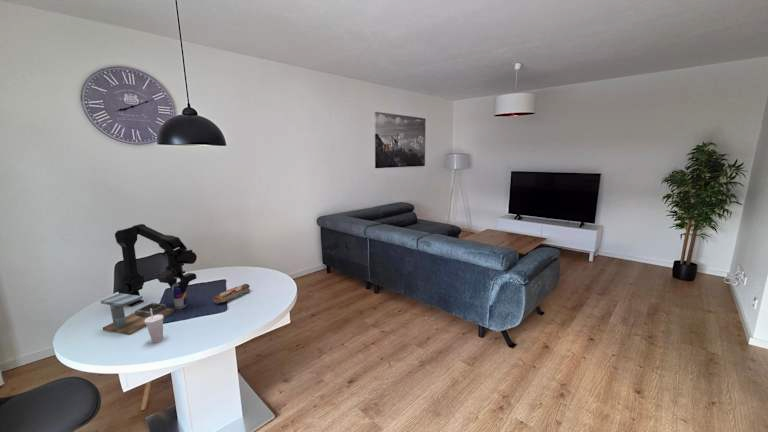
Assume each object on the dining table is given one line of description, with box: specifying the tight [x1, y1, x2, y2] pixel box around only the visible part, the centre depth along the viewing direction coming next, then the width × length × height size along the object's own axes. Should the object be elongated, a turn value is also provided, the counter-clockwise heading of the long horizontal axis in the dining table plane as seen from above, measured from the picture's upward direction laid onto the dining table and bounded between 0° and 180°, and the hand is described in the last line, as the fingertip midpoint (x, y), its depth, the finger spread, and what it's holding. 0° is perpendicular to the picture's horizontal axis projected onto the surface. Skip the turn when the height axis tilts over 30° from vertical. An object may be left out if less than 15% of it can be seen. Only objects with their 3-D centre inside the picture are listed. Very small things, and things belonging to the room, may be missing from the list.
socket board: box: [100, 293, 175, 336], centre depth 145 cm, size 16×21×14 cm
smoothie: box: [145, 308, 165, 343], centre depth 129 cm, size 6×6×14 cm
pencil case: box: [213, 283, 250, 305], centre depth 169 cm, size 11×20×5 cm, turn 139°
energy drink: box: [171, 283, 188, 310], centre depth 158 cm, size 5×5×12 cm
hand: (179, 292), depth 158 cm, fingers closed on energy drink, 5 cm apart
